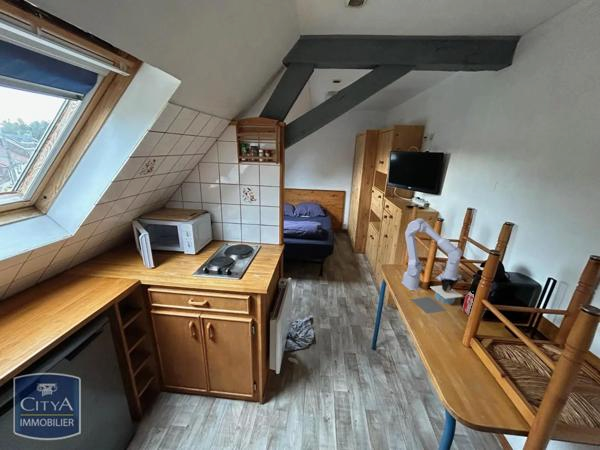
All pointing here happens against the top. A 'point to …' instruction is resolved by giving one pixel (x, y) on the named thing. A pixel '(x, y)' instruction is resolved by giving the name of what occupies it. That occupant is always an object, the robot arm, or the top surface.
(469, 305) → the soda can
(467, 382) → the top surface
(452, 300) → the bowl
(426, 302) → the mat
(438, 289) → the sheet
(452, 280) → the robot arm
